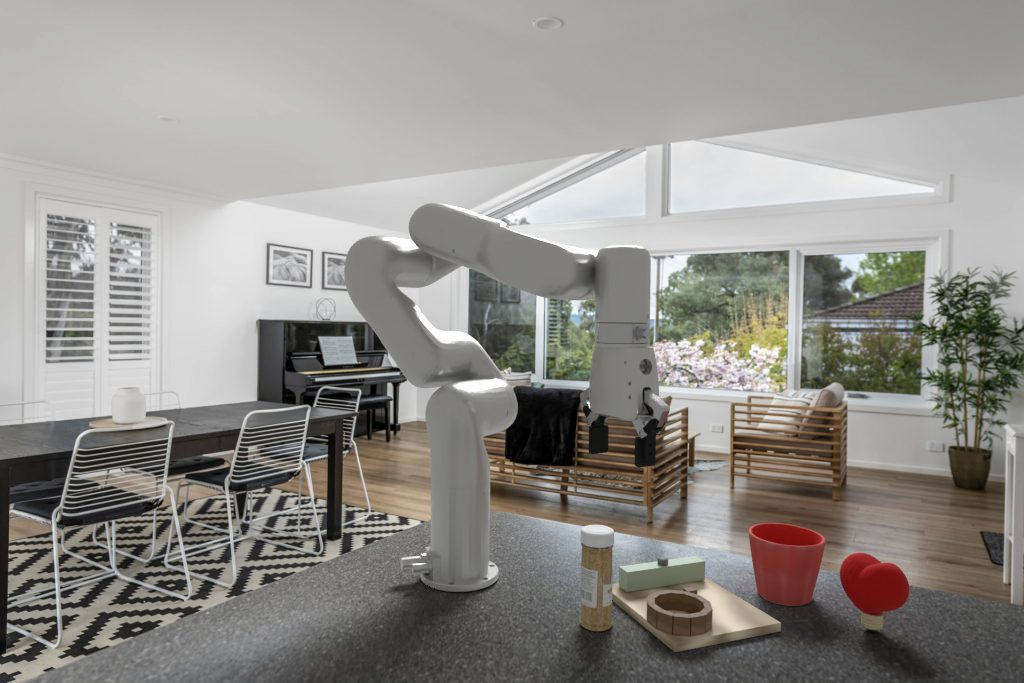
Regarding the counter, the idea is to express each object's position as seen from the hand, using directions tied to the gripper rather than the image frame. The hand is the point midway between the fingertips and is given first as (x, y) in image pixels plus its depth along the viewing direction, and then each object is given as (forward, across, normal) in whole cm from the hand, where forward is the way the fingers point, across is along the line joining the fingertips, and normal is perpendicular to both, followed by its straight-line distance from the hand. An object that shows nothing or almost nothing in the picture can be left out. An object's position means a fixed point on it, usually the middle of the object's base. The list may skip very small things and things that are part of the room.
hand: (620, 459), depth 93 cm
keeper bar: (+21, +4, -12) cm, 25 cm away
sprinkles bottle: (+23, 0, +4) cm, 23 cm away
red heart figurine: (+23, -20, -28) cm, 41 cm away
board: (+23, -3, -10) cm, 25 cm away
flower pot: (+23, -7, -27) cm, 36 cm away
